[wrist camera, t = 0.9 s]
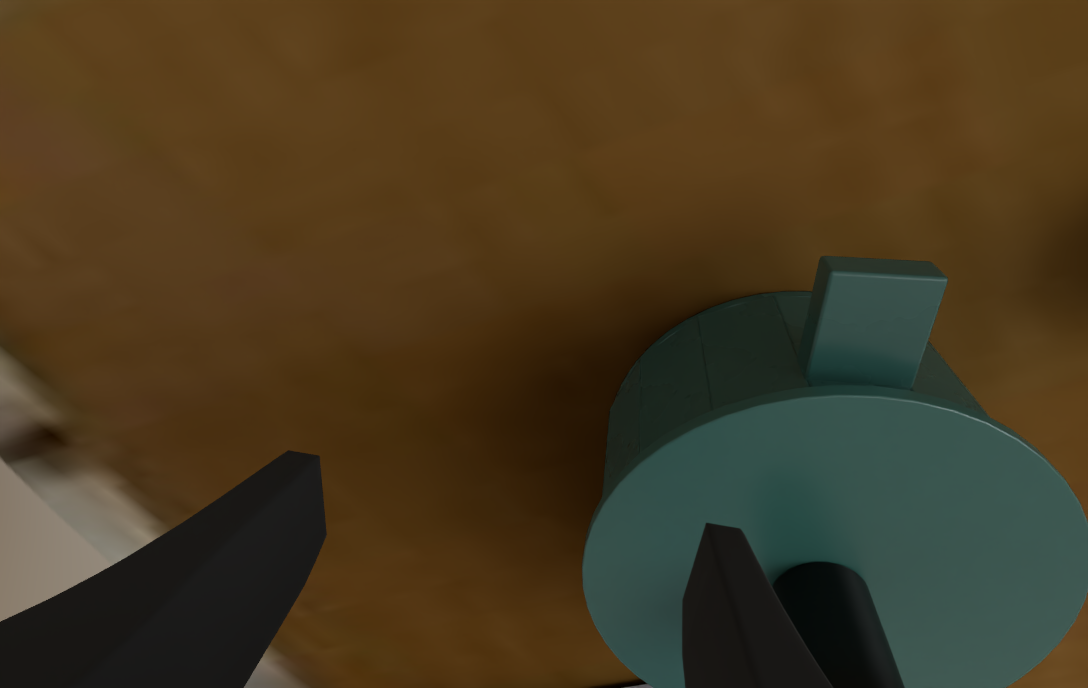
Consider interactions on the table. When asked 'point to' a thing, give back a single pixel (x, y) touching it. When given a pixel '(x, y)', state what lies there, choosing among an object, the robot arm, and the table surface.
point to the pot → (789, 350)
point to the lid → (850, 537)
